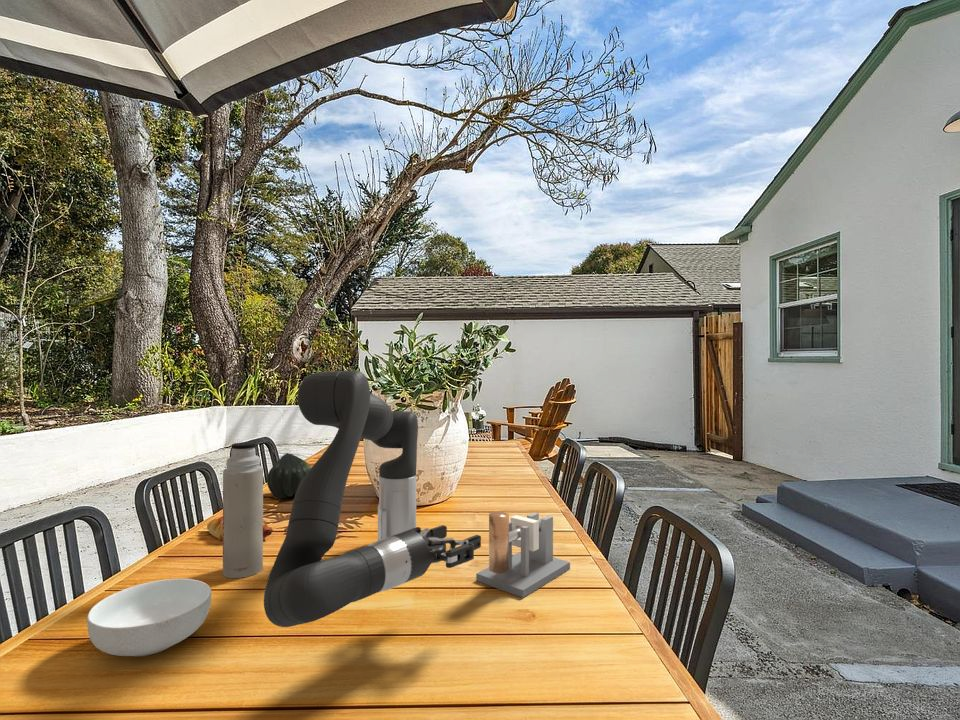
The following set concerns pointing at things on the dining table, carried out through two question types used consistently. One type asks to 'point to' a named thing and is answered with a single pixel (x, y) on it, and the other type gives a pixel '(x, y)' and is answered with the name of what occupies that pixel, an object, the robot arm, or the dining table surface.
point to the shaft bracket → (528, 563)
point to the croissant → (217, 528)
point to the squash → (287, 475)
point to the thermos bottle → (242, 512)
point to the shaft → (501, 541)
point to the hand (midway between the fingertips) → (461, 535)
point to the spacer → (533, 531)
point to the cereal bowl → (149, 616)
